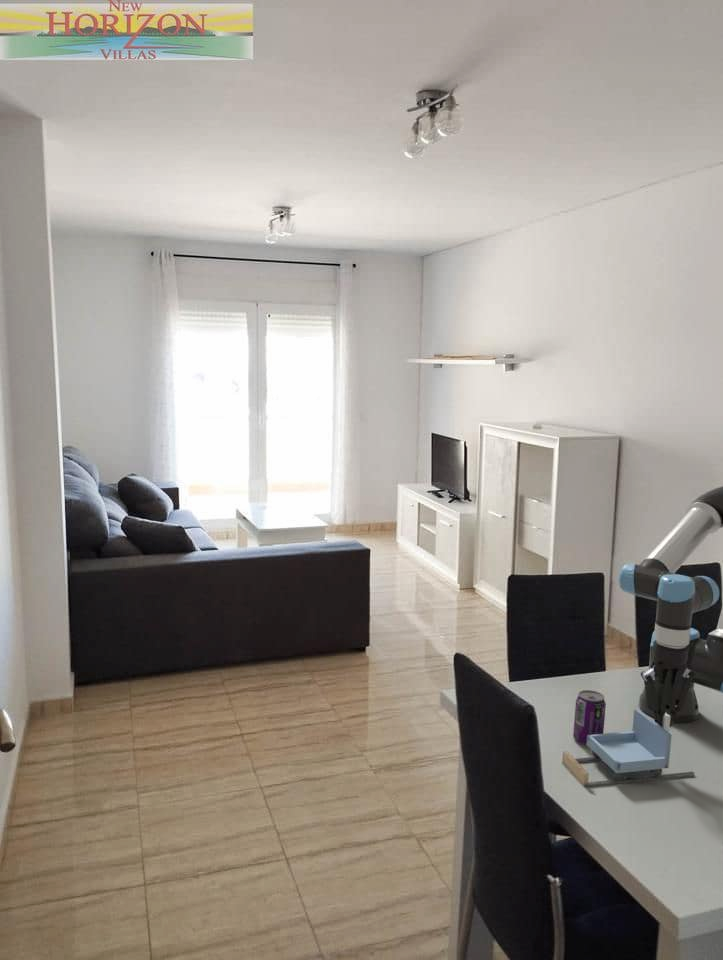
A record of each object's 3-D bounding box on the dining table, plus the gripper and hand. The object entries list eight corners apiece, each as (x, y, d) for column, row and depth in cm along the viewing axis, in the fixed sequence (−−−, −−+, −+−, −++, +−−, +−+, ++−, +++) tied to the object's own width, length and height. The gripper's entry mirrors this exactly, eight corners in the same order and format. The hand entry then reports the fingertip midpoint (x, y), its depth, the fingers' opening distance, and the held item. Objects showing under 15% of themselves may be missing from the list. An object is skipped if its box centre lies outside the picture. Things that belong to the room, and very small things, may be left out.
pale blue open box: (634, 749, 183) (638, 708, 181) (667, 777, 170) (671, 734, 169) (585, 754, 180) (588, 712, 178) (615, 783, 167) (619, 739, 166)
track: (665, 752, 184) (666, 740, 183) (694, 775, 173) (695, 763, 173) (561, 762, 177) (562, 750, 177) (584, 787, 167) (585, 774, 166)
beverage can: (604, 749, 184) (607, 702, 182) (573, 745, 185) (577, 699, 184) (600, 736, 191) (604, 690, 189) (571, 732, 192) (575, 687, 191)
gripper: (685, 635, 178) (675, 730, 181) (636, 638, 175) (627, 734, 178) (706, 647, 171) (696, 745, 174) (655, 650, 167) (646, 750, 171)
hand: (661, 739), depth 176 cm, fingers closed
